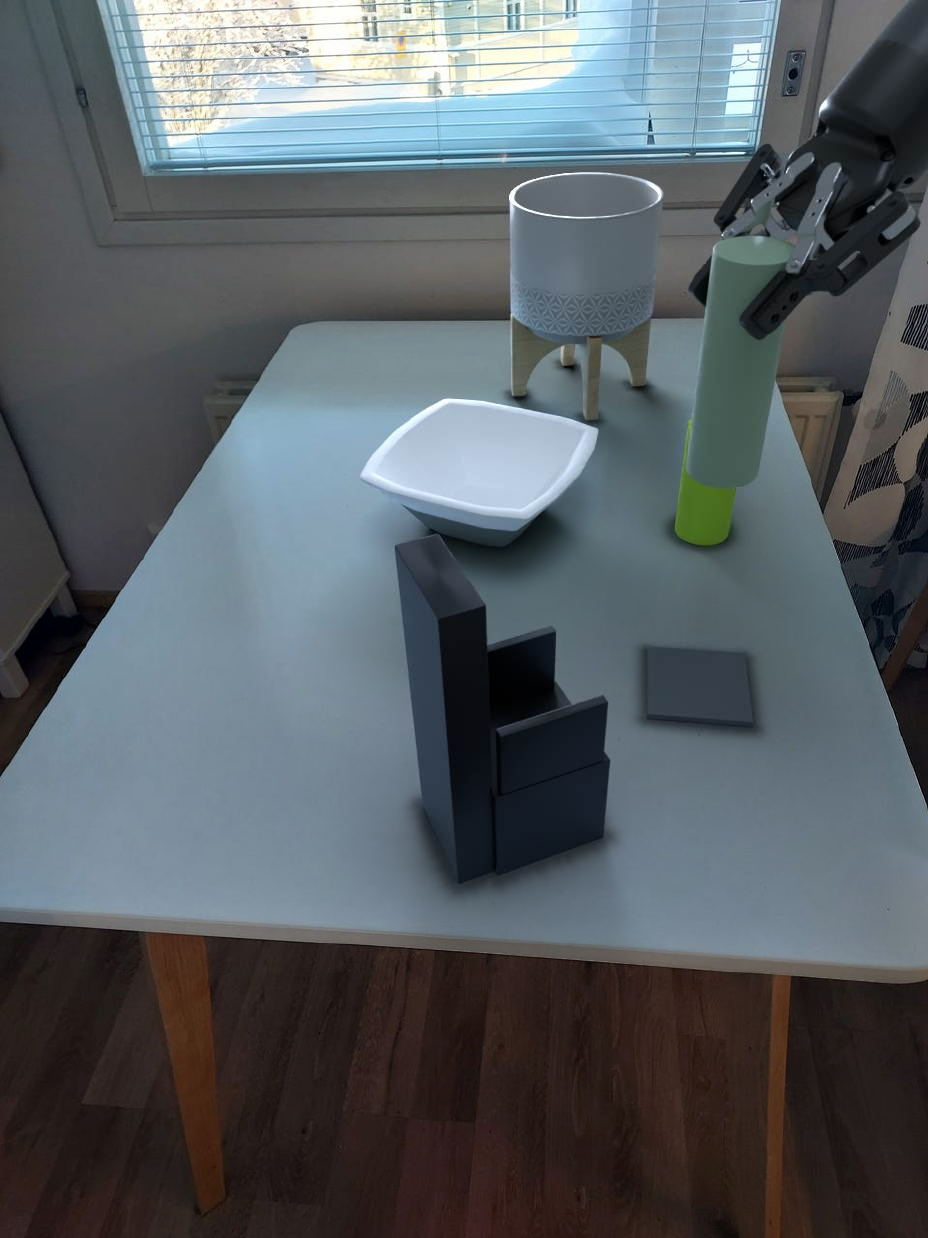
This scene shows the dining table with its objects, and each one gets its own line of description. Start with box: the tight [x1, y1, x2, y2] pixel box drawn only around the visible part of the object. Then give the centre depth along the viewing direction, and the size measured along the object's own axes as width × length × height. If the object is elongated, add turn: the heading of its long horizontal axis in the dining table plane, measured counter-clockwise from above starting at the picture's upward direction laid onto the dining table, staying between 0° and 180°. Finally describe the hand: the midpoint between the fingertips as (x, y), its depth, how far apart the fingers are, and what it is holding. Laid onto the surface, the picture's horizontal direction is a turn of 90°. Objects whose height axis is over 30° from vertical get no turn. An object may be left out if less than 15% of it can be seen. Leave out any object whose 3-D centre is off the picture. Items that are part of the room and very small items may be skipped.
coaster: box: [646, 646, 754, 727], centre depth 84 cm, size 9×9×1 cm
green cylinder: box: [686, 235, 796, 489], centre depth 63 cm, size 5×5×16 cm
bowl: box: [359, 398, 600, 548], centre depth 105 cm, size 22×23×8 cm
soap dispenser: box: [674, 417, 738, 546], centre depth 97 cm, size 6×7×20 cm
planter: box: [509, 172, 665, 421], centre depth 123 cm, size 19×19×26 cm
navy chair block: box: [394, 533, 611, 884], centre depth 66 cm, size 12×9×26 cm
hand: (722, 313), depth 60 cm, fingers closed on green cylinder, 5 cm apart
